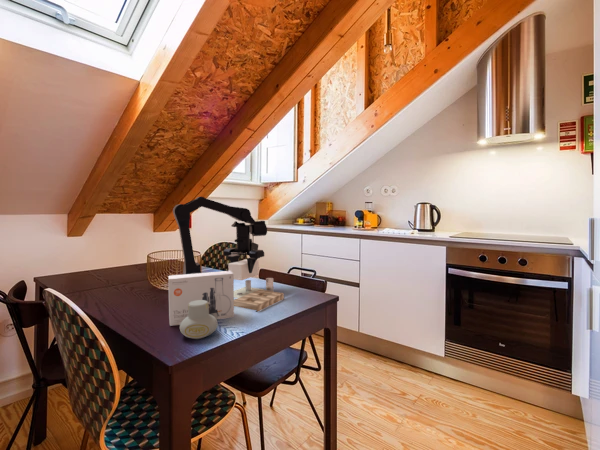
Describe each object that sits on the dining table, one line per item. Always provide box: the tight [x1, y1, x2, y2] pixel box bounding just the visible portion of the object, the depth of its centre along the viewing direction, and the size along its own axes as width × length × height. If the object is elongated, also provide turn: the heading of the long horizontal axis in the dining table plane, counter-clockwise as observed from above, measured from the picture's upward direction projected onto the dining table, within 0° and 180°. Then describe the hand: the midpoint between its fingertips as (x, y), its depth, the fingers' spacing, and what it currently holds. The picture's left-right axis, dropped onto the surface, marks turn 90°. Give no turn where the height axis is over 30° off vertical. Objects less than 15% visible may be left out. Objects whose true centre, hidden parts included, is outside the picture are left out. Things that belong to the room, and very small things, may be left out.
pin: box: [265, 277, 274, 292], centre depth 140 cm, size 3×3×7 cm
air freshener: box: [179, 300, 219, 340], centre depth 97 cm, size 11×8×10 cm
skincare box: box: [167, 270, 235, 327], centre depth 110 cm, size 21×5×16 cm, turn 114°
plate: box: [234, 279, 266, 299], centre depth 142 cm, size 16×11×5 cm
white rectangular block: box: [227, 258, 260, 281], centre depth 142 cm, size 12×7×6 cm, turn 151°
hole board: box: [234, 289, 285, 313], centre depth 128 cm, size 18×12×2 cm, turn 151°
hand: (243, 272), depth 142 cm, fingers closed on white rectangular block, 7 cm apart
